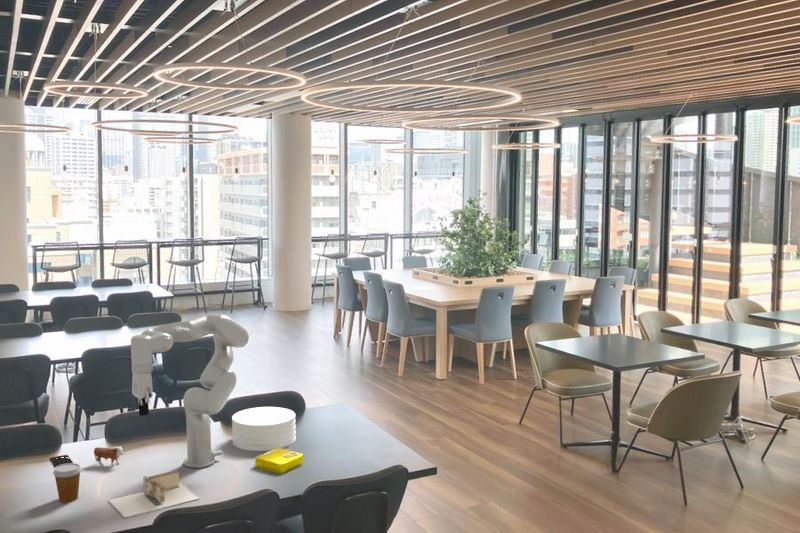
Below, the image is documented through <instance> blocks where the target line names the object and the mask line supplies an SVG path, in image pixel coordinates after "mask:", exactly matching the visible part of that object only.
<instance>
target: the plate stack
mask: <svg viewBox="0 0 800 533" xmlns="http://www.w3.org/2000/svg"><path fill="white" fill-rule="evenodd" d="M231 422H232V423H231V430H232V434H231V436H232V445H233V446H234V447H236V448H238V449H240V450H244V449H245V450H244V451H251V450H253V451H256V452H263V451H264V452H266V451H267V452H268V451H270V450H273V449H275V448H282V449H285V448H286V446H287V447H288V446H291V445H293V444H294V443H295V442H296V439H297V438H296V434H297V433H296V429H297V428H296V426H297V425H296V423H297V422H296V413H295V411H293V410H292V409H289V408H285V407H280V406H279V407H278V406H259V407H258V406H257V407H250V408H245V409H243V410H239V411H237V412H235V413H234V414H233V415H232V416H231ZM294 441H295V442H294ZM292 443H293V444H292ZM253 451H252V452H253Z"/></svg>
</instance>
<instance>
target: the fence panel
mask: <svg viewBox="0 0 800 533" xmlns="http://www.w3.org/2000/svg"><path fill="white" fill-rule="evenodd" d="M146 492H147V494H148V495H150V496H151V497H153V498H155V499H157V500H158V501H160V502H164V501H165V494H164V486H162V485H160V484H158V483H157V482H155V481H153V480H151V479H149V478H148V479H146Z"/></svg>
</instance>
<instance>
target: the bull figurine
mask: <svg viewBox="0 0 800 533" xmlns="http://www.w3.org/2000/svg"><path fill="white" fill-rule="evenodd" d="M124 448H125V446H114V447H94V449H93V454H94V458H95V461H96V463H99V465H100V467H103V466H104V463H103V462H102V459H104V460H106V461H107V460H108V459H111V463H110V466H111V465H112V466H111V467H114V466H115V465H114V462H115V461H116V463H117V465H120V464H119V463H120V462H119V458H120V456H122V455H124V454H125V453H124V451H123V449H124ZM102 465H103V466H102ZM113 465H114V466H113Z"/></svg>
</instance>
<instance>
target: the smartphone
mask: <svg viewBox="0 0 800 533" xmlns="http://www.w3.org/2000/svg"><path fill="white" fill-rule="evenodd" d="M61 457H64V458H61ZM66 457H68V458H69V459H68V458H66ZM56 458H57V459H56ZM49 460H50V462H51V464H52V465H53V466H54V468H55V467H57V466H59V465H62V464H67V463H74V462H73V460H72V459H71V458H70V456H69V455H68V454H62V455H58V456H51V457H49Z"/></svg>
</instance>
